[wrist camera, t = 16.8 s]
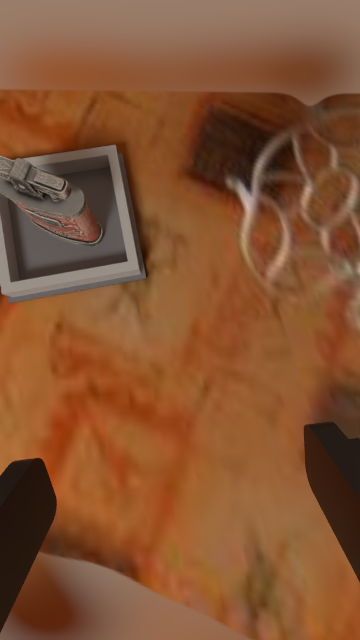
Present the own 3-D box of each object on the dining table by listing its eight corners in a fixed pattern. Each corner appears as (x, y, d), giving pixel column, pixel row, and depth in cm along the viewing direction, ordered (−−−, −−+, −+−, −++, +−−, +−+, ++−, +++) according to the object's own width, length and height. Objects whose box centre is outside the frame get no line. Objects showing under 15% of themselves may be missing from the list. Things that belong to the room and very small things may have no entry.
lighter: (29, 228, 31) (-38, 171, 21) (40, 200, 31) (-19, 132, 21) (97, 252, 31) (64, 207, 21) (108, 225, 31) (81, 168, 21)
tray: (122, 155, 32) (119, 139, 30) (146, 278, 31) (144, 272, 29) (-8, 175, 31) (-23, 160, 29) (11, 303, 30) (-3, 299, 28)
